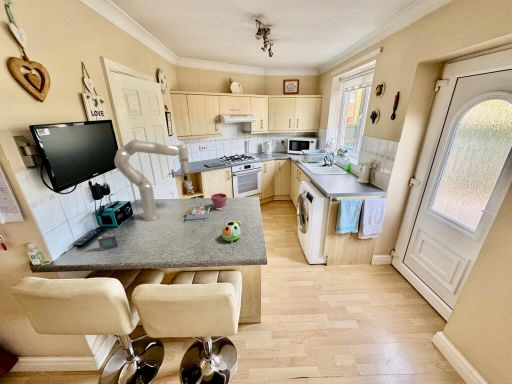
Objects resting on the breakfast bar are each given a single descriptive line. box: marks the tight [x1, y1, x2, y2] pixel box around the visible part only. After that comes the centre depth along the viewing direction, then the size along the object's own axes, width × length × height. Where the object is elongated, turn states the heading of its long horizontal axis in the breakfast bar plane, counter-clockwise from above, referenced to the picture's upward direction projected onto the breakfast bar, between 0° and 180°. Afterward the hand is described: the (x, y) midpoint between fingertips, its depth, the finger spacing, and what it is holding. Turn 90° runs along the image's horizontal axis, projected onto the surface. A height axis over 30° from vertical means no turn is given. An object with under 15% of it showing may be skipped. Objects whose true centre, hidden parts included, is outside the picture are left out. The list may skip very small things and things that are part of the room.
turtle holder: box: [221, 220, 242, 243], centre depth 141 cm, size 12×18×12 cm
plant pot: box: [210, 192, 228, 209], centre depth 186 cm, size 14×14×13 cm
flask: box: [97, 232, 119, 252], centre depth 128 cm, size 9×3×11 cm, turn 117°
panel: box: [185, 206, 212, 222], centre depth 175 cm, size 18×24×4 cm
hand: (185, 180), depth 177 cm, fingers closed
